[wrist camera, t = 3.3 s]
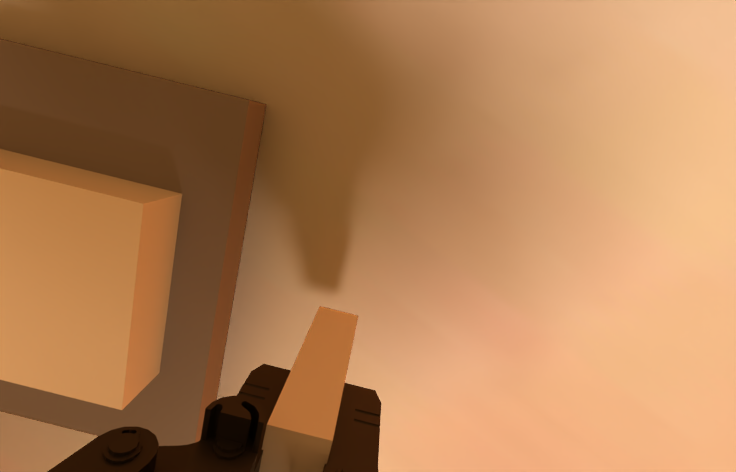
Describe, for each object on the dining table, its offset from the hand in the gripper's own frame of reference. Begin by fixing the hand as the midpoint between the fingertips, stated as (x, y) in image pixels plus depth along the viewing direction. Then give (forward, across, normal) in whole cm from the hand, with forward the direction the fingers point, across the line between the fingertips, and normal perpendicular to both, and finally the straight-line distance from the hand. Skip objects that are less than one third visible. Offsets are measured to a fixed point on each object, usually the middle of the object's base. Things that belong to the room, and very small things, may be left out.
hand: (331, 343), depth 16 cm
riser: (+3, +12, 0) cm, 12 cm away
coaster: (+1, +11, 0) cm, 11 cm away
